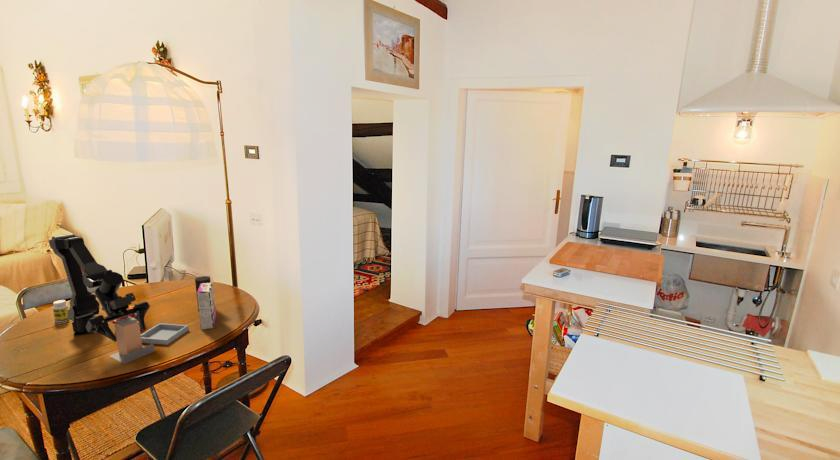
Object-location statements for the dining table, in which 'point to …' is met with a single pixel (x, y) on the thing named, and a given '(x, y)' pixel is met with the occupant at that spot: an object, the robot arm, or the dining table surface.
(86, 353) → the dining table surface
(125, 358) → the plate
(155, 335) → the tray
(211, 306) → the candy bar box
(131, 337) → the tall pink carton
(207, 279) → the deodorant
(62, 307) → the supplement bottle
